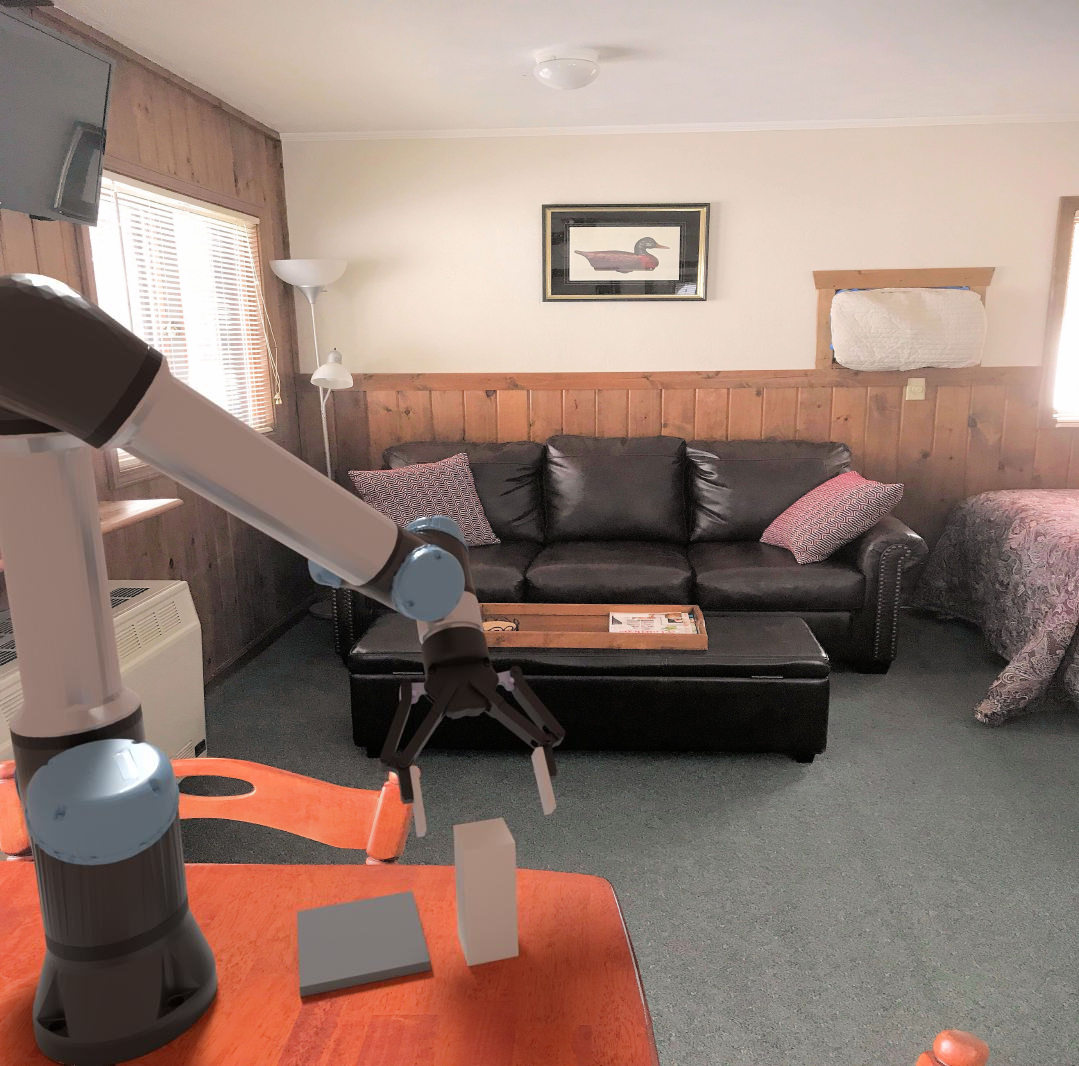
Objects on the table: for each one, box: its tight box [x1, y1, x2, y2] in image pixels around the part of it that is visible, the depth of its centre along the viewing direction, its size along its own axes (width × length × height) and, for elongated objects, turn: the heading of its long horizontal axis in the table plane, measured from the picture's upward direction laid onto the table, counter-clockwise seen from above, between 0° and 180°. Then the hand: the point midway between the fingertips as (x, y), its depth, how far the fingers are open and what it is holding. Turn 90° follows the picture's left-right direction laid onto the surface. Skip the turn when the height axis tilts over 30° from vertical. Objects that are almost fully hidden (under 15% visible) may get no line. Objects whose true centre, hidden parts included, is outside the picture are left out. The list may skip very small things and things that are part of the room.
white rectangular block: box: [452, 817, 519, 967], centre depth 87 cm, size 5×5×12 cm
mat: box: [296, 890, 432, 998], centre depth 89 cm, size 12×12×1 cm
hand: (487, 822), depth 92 cm, fingers open, 13 cm apart
